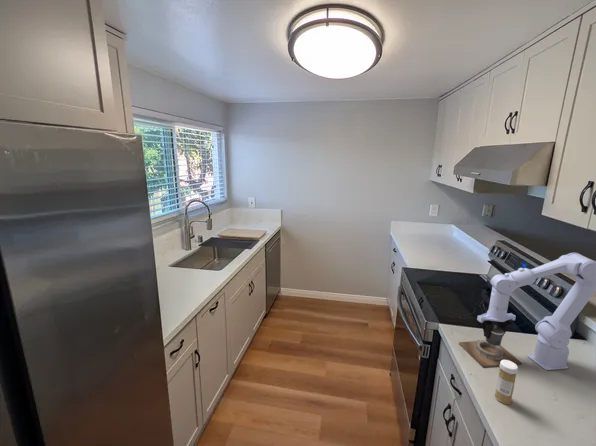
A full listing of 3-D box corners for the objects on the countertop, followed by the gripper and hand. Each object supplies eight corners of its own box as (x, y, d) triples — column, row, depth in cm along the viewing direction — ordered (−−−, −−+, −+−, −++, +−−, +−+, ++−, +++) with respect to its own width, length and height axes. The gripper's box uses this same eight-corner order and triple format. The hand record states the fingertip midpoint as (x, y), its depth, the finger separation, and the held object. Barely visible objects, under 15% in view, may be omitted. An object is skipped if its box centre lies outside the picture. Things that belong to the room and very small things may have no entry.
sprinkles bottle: (513, 400, 92) (520, 365, 89) (507, 407, 90) (514, 371, 87) (497, 391, 96) (504, 357, 93) (491, 397, 93) (497, 362, 90)
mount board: (493, 341, 122) (494, 335, 121) (521, 364, 108) (522, 358, 108) (458, 343, 120) (459, 338, 120) (482, 367, 107) (483, 361, 106)
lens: (493, 336, 114) (496, 323, 113) (504, 345, 110) (507, 332, 108) (482, 337, 114) (485, 324, 112) (492, 346, 109) (495, 333, 107)
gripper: (507, 299, 113) (501, 329, 116) (473, 301, 112) (469, 331, 115) (522, 308, 106) (516, 340, 109) (487, 310, 105) (481, 342, 108)
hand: (493, 336), depth 112 cm, fingers closed on lens, 5 cm apart
